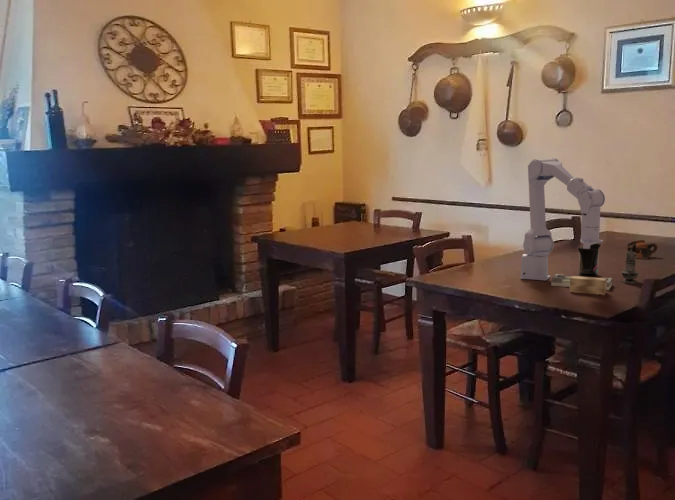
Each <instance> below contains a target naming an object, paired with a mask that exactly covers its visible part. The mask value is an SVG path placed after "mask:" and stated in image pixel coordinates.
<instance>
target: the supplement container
mask: <svg viewBox="0 0 675 500" xmlns="http://www.w3.org/2000/svg"><path fill="white" fill-rule="evenodd" d="M581 247H583V245H582V246H581ZM599 254H600V248H599V249H598V252H597V255H596V259H595V263H594V265H592V266H591V269H584V268H583V263H582V258H581V255H580V254H579V265H578V267H579V269H578V274H579V275H580V276H581V277H597V276H598V274H599Z"/></svg>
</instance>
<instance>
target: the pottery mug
mask: <svg viewBox="0 0 675 500" xmlns="http://www.w3.org/2000/svg"><path fill="white" fill-rule="evenodd" d="M626 246H627V249H626V251H627V252H629V251H631V249H632V251H633V252H635V256H636V257H637V259H638V260H639V259H644V258H646V259H647V258H648V259H651V256H652V255H653V254H656V252H657V250H659V249H658V248H659V246H658V245H657V244H656V243H654V242H651V243H647V242H646V241H645V240H643V239H639V240H635V241H631V242H629V243H628V244H627V245H626ZM652 248H653V249H652Z"/></svg>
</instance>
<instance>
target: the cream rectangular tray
mask: <svg viewBox="0 0 675 500" xmlns="http://www.w3.org/2000/svg"><path fill="white" fill-rule="evenodd" d="M571 277H572V276H566V274H559V273H555V274H554V275H553V276H551V284H550V286H553V287H562V288H563V287H565V288H570V278H571ZM604 278H605V279H607V281H606V291H610V289H611V287H612V286H613V277H604Z"/></svg>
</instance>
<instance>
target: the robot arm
mask: <svg viewBox="0 0 675 500" xmlns="http://www.w3.org/2000/svg"><path fill="white" fill-rule="evenodd" d="M527 173H528V174H527V177H528V199H529V219H530V220H529V221H530V222H529V223H530V229H529V230H528V231H527V232H525V234H524V240H523V245H522V247H523V250H524V252H525V253H523V254H522V256H521V259H520V260H521V261H520V279H521V280H522V279H523V280H535V281H548V279H550V278H551V275H550V274H549V255H550V254H551V252H552V251H553V249H554V246H555V245H554V240H553V237H552V232H551V231H550V230H549V229H548V228H547V223H546V222H547V221H546V219H547V218H546V200H545V198H546V197H545V195H546V194H545V185H546V184H547V182H548V181H550V180H551V179H553V178H556V179H557V180H558V181H560V182H561V183H563V184H564V185H565V186H566V190H567V192H568V193H570V195H572V196H573V197H574V198H576V199H577V202H578V205H579V208H580V213H581V223H580V225H581V227H580V240H579V242H580V243H581V245H582V246H583V247H582V246H579V247H578V248H577V249H578V250H577V251H578V252H579V256H580V255H581V258H582V263H583V268H584V269H591V266H592V265H594V263H595V259H596V255H597V252H598V249H599V250H600V247H601V245H602V243H604V240H603V239H600V228H601V226H600V225H601V224H600V223H601V207H603V205H604V204H605V201H606V197H605V194H604V192H603V191H602V190H601V189H600V188H599V189H598V188H597V189H595V188H594V187H593V186H592V185H589V184H588V183H587V182H585V181H584V178H582V177H574V176H573V175H572V174H571V173H570V172H569V171H568V170H567V169H566V168H565V167H564V166H563V163H562V161H560V160H559V159H558V158H554V157H553V158H545V159H544V158H541V159H538V158H535V159H532V160H531V161H530V162H529V164H528V165H527Z"/></svg>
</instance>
